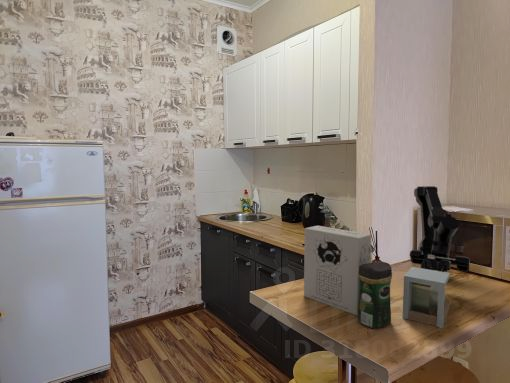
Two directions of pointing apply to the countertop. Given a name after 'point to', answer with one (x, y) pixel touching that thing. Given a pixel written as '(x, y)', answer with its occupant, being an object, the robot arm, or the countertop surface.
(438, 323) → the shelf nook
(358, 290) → the cereal box
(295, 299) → the countertop surface
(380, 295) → the coffee jar
